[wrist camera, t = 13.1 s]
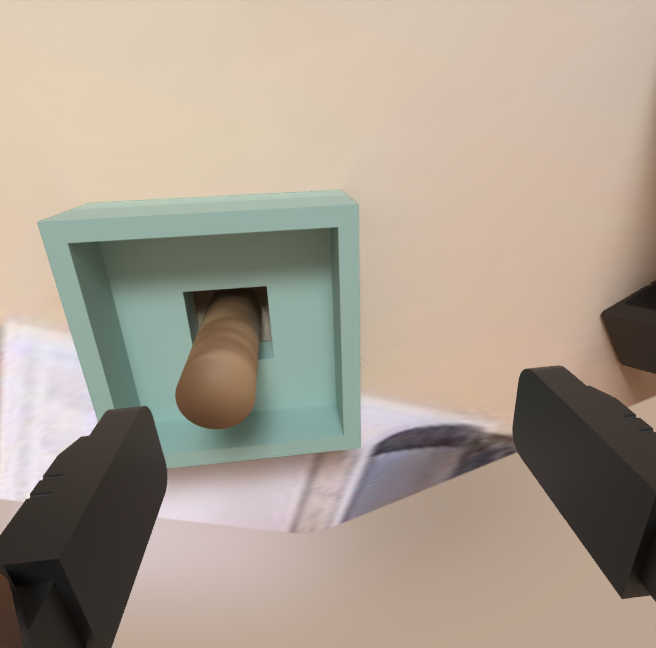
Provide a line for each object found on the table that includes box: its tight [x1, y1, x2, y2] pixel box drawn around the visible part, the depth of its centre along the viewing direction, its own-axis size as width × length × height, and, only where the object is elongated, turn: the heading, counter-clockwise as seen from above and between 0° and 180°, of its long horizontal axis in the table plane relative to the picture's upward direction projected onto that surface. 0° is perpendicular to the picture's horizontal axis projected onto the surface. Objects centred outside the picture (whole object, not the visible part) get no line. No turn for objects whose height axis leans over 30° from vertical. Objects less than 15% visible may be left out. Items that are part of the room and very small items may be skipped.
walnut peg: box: [175, 288, 262, 429], centre depth 28 cm, size 4×4×12 cm
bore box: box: [37, 190, 361, 469], centre depth 30 cm, size 17×17×7 cm
